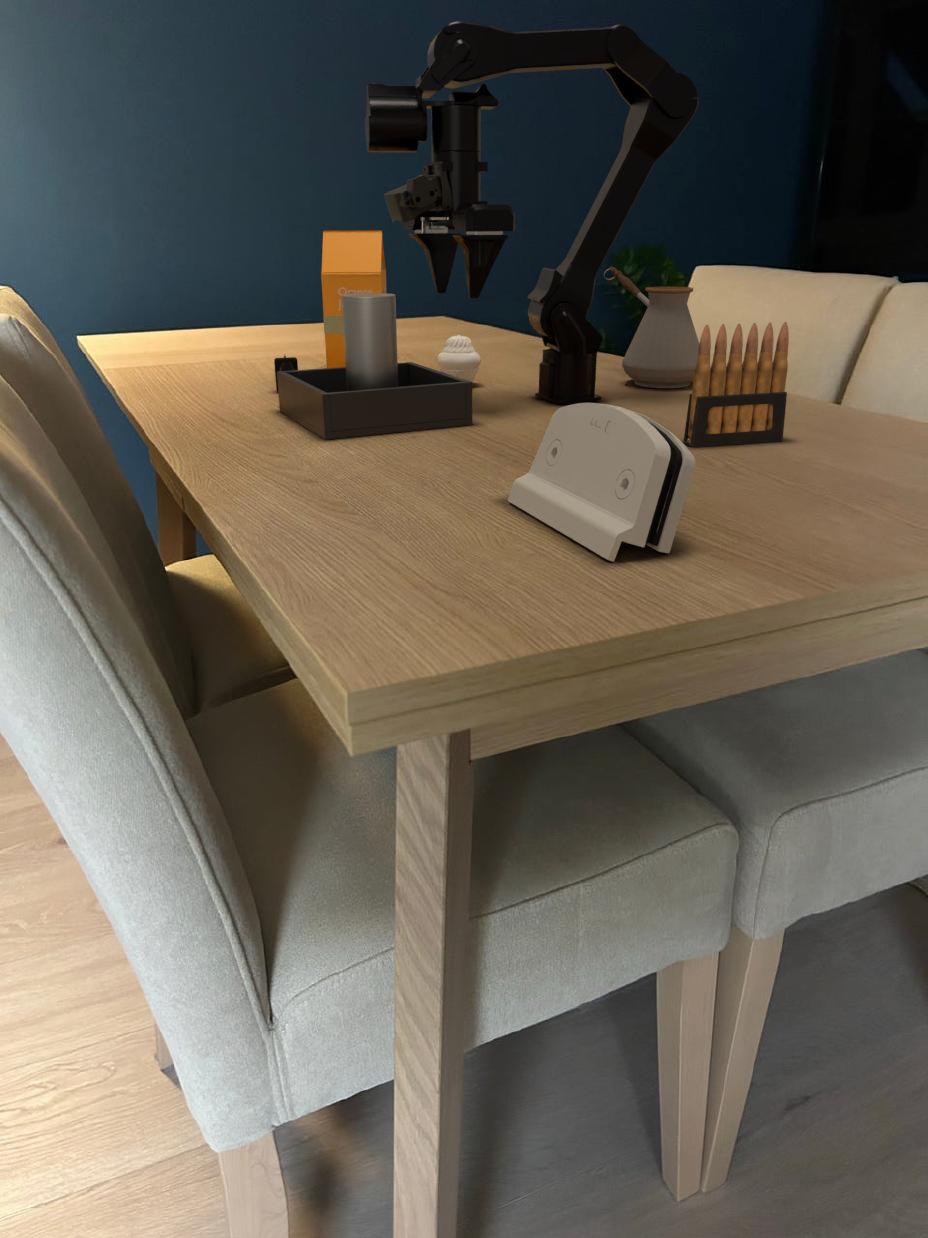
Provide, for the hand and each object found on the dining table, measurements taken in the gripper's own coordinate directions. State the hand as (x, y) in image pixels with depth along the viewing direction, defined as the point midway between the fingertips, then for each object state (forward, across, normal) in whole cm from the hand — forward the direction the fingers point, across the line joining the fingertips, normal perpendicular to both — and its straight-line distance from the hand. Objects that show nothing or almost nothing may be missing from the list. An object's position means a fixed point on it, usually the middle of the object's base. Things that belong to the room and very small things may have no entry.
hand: (457, 295), depth 114 cm
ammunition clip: (+13, +33, +16) cm, 39 cm away
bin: (+13, +4, -13) cm, 19 cm away
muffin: (+13, -12, +6) cm, 19 cm away
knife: (+13, -21, -16) cm, 30 cm away
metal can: (+12, +4, -13) cm, 18 cm away
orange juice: (+13, -31, -2) cm, 34 cm away
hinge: (+13, +50, -12) cm, 54 cm away
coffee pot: (+13, -5, +32) cm, 35 cm away
